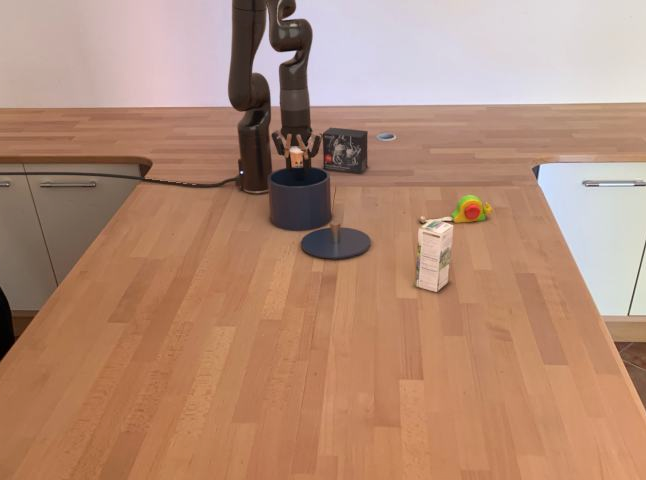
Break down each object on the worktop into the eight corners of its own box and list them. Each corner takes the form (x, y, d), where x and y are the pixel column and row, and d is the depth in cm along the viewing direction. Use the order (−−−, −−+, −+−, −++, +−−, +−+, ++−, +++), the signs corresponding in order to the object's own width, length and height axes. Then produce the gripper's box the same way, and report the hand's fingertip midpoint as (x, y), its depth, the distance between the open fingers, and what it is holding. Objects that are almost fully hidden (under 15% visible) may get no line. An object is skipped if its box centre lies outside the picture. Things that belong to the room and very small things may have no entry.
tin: (261, 227, 191) (257, 184, 184) (285, 204, 204) (282, 163, 198) (318, 233, 186) (316, 190, 180) (339, 210, 199) (338, 168, 193)
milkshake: (308, 182, 187) (306, 145, 181) (288, 181, 188) (286, 144, 182) (312, 176, 190) (310, 140, 185) (292, 176, 191) (291, 139, 186)
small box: (322, 170, 228) (321, 133, 221) (330, 163, 233) (329, 127, 227) (361, 174, 224) (360, 136, 217) (368, 167, 229) (368, 130, 222)
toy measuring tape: (494, 222, 189) (496, 199, 185) (422, 227, 188) (423, 203, 184) (488, 213, 194) (490, 190, 191) (417, 217, 193) (418, 194, 190)
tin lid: (290, 255, 175) (289, 232, 172) (315, 228, 189) (314, 206, 186) (358, 264, 170) (358, 241, 167) (378, 235, 184) (379, 213, 181)
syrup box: (426, 276, 164) (429, 218, 156) (449, 283, 161) (453, 223, 153) (414, 286, 160) (417, 227, 152) (437, 293, 157) (441, 233, 149)
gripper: (326, 103, 180) (328, 169, 189) (274, 100, 184) (279, 164, 193) (316, 110, 174) (319, 178, 183) (263, 107, 178) (268, 174, 187)
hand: (298, 171), depth 188 cm, fingers closed on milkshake, 4 cm apart
